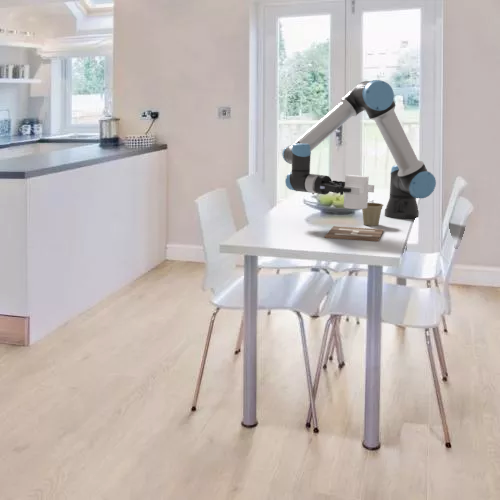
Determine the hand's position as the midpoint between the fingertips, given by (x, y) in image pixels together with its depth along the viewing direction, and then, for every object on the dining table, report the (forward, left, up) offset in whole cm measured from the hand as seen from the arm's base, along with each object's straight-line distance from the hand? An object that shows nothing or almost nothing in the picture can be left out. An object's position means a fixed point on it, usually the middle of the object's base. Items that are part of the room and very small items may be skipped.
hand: (366, 190), depth 238 cm
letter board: (+1, -4, -18) cm, 18 cm away
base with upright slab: (+2, -4, -7) cm, 9 cm away
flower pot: (-17, -18, -18) cm, 30 cm away
